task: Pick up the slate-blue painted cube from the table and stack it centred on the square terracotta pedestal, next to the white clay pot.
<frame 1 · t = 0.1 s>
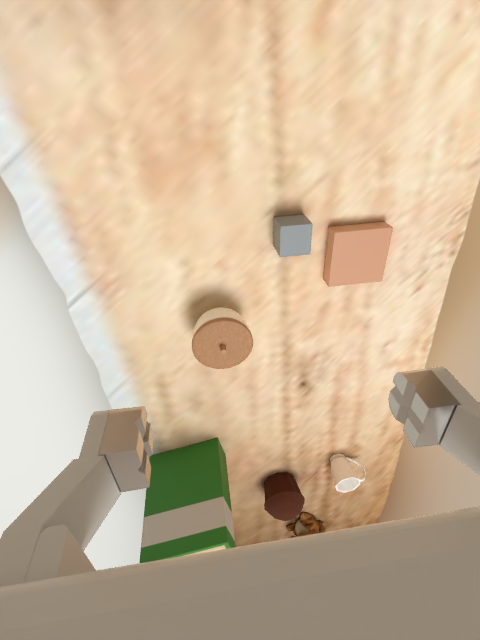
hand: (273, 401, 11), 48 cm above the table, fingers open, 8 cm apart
cube: (288, 230, 59), on the table
pedestal: (352, 251, 63), on the table
lidded jar: (219, 321, 67), on the table
stuffed squirrel: (306, 521, 117), on the table
hardback book: (188, 454, 89), on the table
cup: (341, 457, 99), on the table
muffin: (278, 480, 101), on the table
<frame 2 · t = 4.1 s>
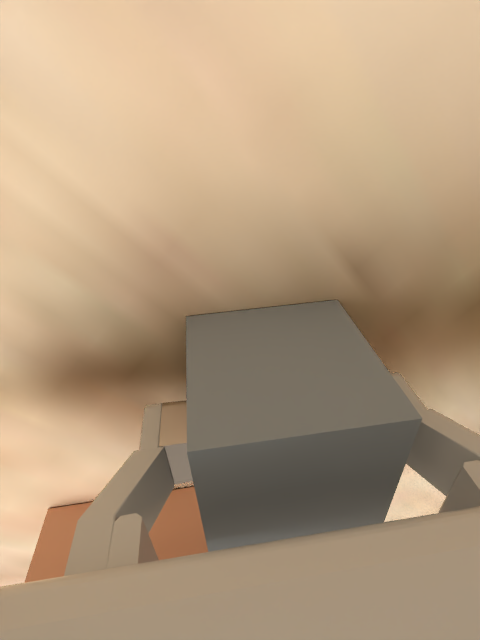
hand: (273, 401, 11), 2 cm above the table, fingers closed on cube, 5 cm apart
cube: (263, 365, 13), on the table, touching gripper
pedestal: (175, 542, 19), on the table
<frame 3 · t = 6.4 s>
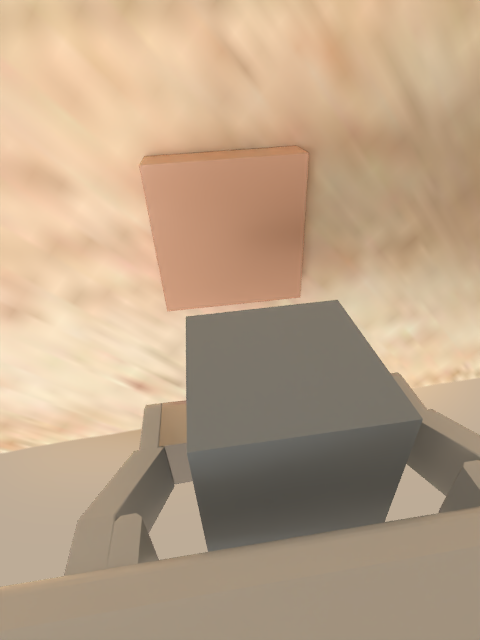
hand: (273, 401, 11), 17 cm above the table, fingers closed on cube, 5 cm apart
cube: (263, 366, 13), point 16 cm above the table, touching gripper
pedestal: (226, 225, 26), on the table
when the fingers open (6 cm above the table, at t = 8.8 s): cube drops 2 cm, resting on pedestal.
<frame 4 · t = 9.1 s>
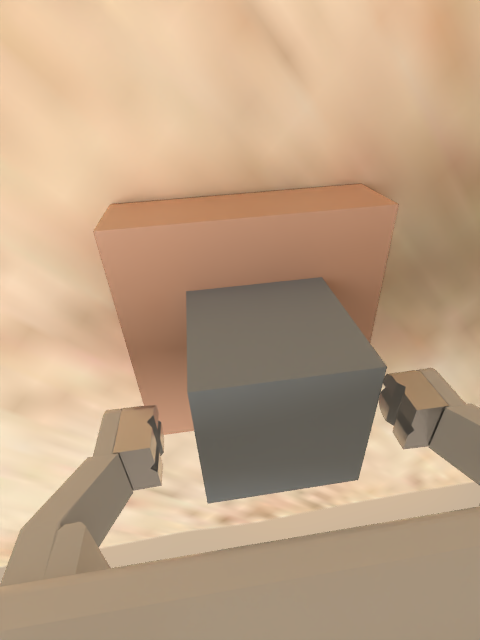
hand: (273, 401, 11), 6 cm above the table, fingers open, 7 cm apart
cube: (256, 338, 14), point 3 cm above the table, touching pedestal
pedestal: (244, 302, 17), on the table
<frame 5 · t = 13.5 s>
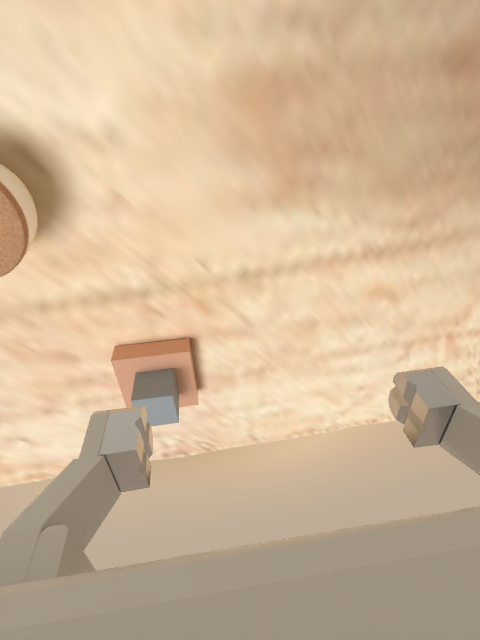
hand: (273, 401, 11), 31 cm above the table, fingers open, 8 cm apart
cube: (158, 383, 48), point 3 cm above the table, touching pedestal
pedestal: (159, 369, 50), on the table
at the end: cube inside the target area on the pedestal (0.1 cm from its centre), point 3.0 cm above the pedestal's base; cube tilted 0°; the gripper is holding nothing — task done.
